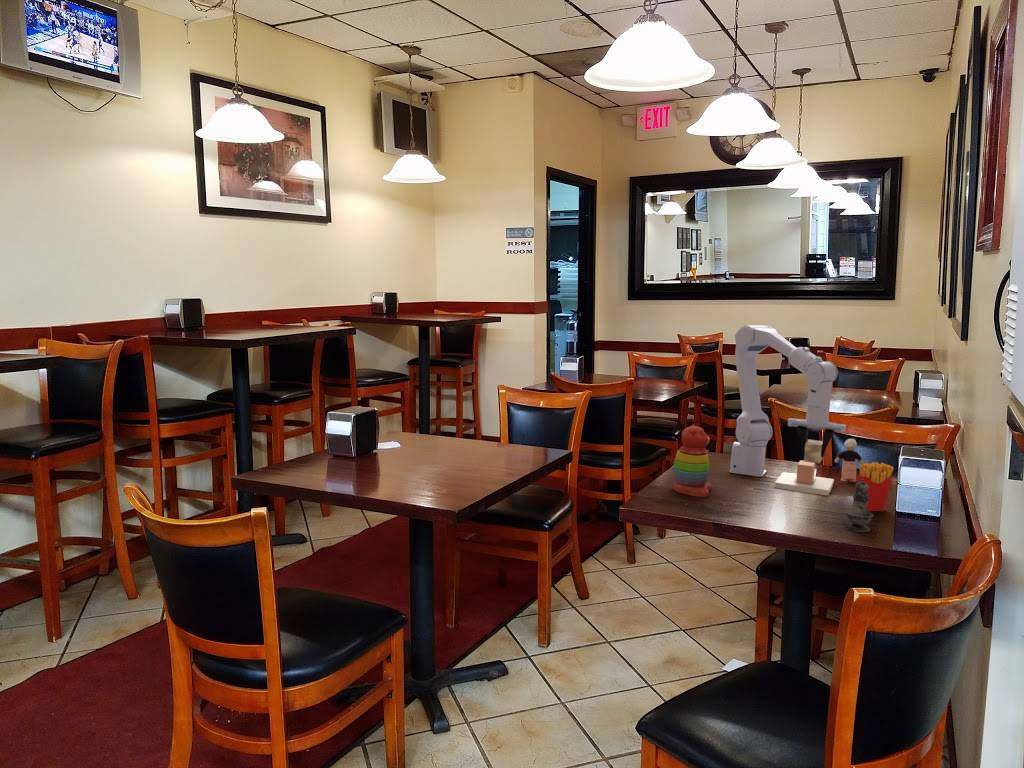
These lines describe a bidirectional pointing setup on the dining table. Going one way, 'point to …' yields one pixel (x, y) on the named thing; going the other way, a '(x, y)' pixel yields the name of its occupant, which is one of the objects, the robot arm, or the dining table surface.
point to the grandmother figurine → (849, 461)
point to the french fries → (876, 484)
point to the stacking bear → (692, 463)
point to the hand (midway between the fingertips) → (813, 455)
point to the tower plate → (804, 484)
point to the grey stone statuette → (859, 509)
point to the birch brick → (813, 451)
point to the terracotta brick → (805, 472)
